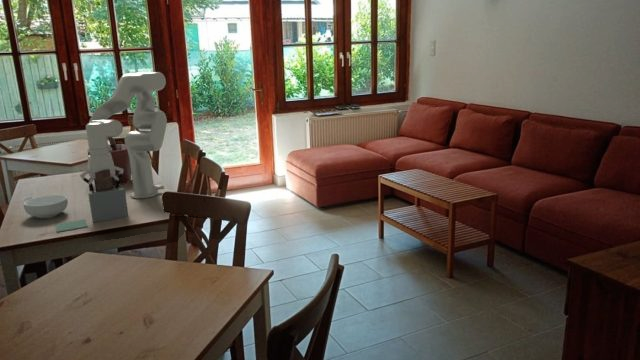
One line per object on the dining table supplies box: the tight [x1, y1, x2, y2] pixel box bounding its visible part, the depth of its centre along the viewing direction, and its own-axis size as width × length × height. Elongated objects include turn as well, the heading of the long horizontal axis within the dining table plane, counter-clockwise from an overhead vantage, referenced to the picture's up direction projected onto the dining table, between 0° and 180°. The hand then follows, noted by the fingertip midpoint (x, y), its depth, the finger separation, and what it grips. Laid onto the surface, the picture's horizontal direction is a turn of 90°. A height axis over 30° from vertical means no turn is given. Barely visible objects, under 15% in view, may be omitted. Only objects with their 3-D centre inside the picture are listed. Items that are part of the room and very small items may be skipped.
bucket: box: [87, 137, 132, 185], centre depth 266 cm, size 24×22×25 cm
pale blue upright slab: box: [87, 187, 129, 223], centre depth 209 cm, size 14×2×12 cm, turn 119°
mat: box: [55, 218, 89, 233], centre depth 203 cm, size 11×10×1 cm
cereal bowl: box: [23, 194, 69, 219], centre depth 216 cm, size 17×17×7 cm
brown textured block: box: [93, 169, 115, 192], centre depth 215 cm, size 8×7×20 cm
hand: (104, 190), depth 215 cm, fingers open, 9 cm apart
